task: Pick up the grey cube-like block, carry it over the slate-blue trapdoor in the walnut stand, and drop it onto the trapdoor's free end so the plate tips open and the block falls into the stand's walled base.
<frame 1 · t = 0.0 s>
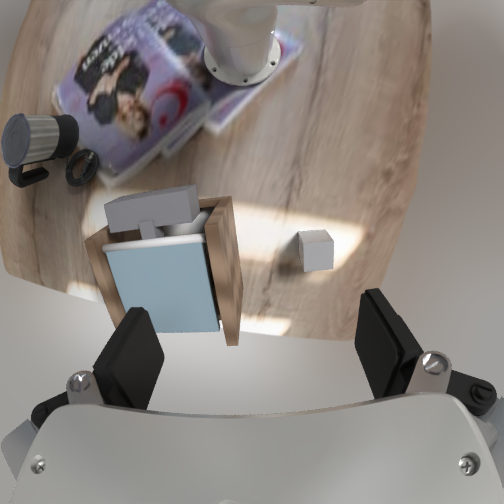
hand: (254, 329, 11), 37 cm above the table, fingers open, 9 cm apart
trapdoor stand: (187, 249, 50), on the table
trapdoor: (162, 263, 37), point 13 cm above the table, hinge at 0.0°
grey cube-like block: (312, 243, 49), on the table
milk frother: (74, 147, 42), on the table
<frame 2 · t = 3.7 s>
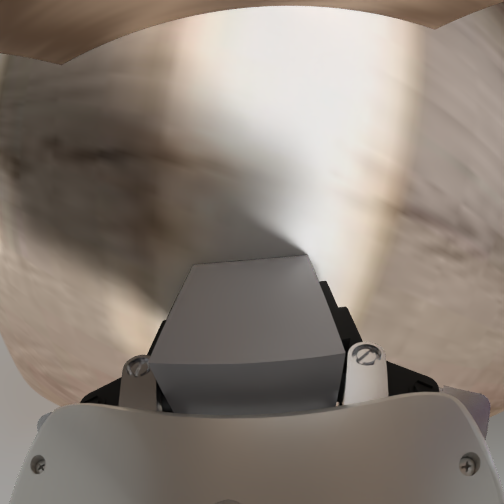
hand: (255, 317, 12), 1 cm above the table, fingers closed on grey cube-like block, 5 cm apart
grey cube-like block: (255, 308, 13), on the table, touching gripper
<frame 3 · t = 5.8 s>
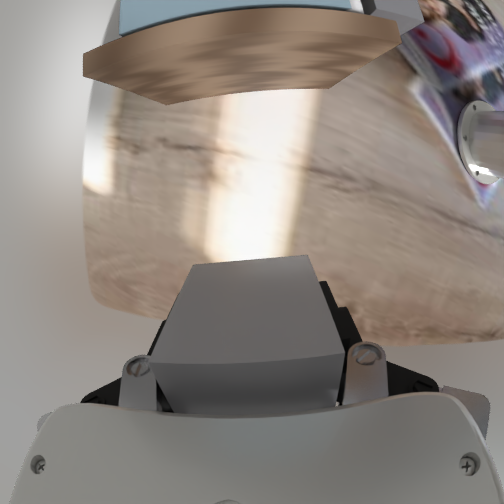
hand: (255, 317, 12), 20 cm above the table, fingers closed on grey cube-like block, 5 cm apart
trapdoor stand: (238, 21, 22), on the table
grey cube-like block: (255, 308, 13), point 19 cm above the table, touching gripper
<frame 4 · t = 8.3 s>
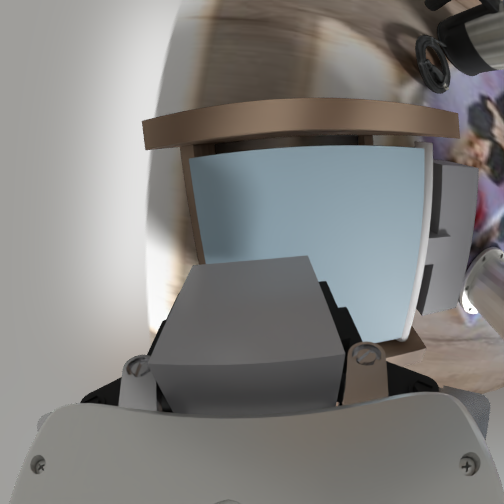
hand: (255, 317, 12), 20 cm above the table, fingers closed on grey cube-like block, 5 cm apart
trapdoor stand: (293, 206, 30), on the table
trapdoor: (355, 244, 18), point 13 cm above the table, hinge at 0.0°
grey cube-like block: (255, 308, 13), point 19 cm above the table, touching gripper
milk frother: (447, 56, 21), on the table
when the fingers open (19 cm above the table, at t = 9.2 s): grey cube-like block drops 10 cm and tips over, resting on trapdoor.
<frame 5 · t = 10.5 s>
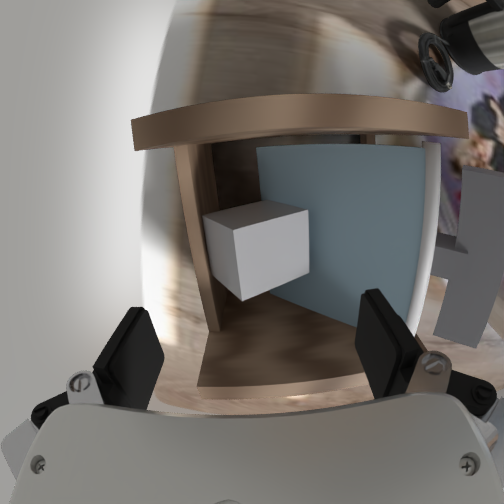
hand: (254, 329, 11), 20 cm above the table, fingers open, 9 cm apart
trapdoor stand: (293, 208, 29), on the table
trapdoor: (383, 236, 19), point 10 cm above the table, hinge at -44.5°, touching grey cube-like block
grey cube-like block: (287, 234, 22), point 8 cm above the table, tilted 57°, touching trapdoor
milk frother: (449, 54, 20), on the table
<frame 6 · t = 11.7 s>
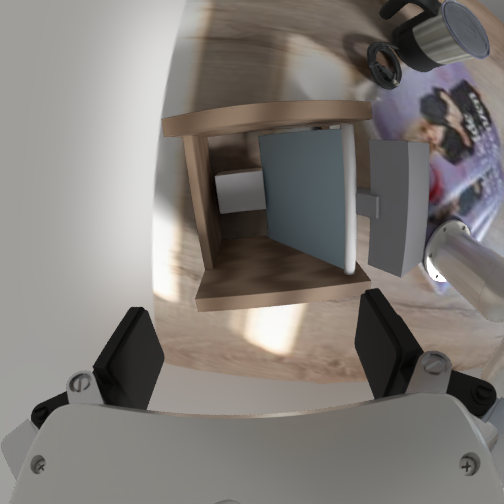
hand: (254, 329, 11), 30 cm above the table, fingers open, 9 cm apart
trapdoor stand: (269, 183, 38), on the table
trapdoor: (336, 193, 29), point 10 cm above the table, hinge at -57.7°, touching grey cube-like block
grey cube-like block: (263, 186, 36), point 2 cm above the table, tilted 90°, touching trapdoor
milk frother: (400, 57, 29), on the table
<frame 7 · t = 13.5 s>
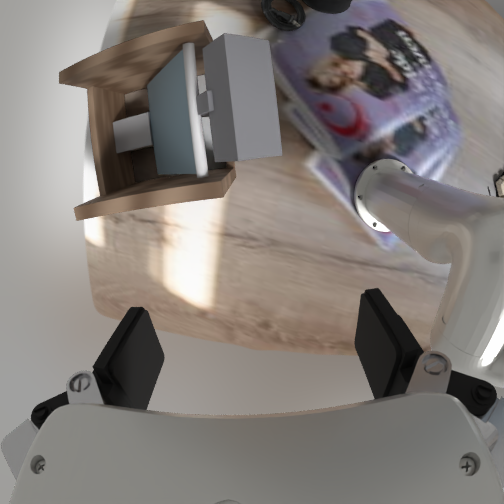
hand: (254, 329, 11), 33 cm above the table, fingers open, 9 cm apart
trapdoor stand: (172, 127, 38), on the table
trapdoor: (198, 112, 28), point 10 cm above the table, hinge at -52.0°
grey cube-like block: (155, 128, 36), point 2 cm above the table, tilted 90°, touching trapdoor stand
milk frother: (308, 4, 29), on the table
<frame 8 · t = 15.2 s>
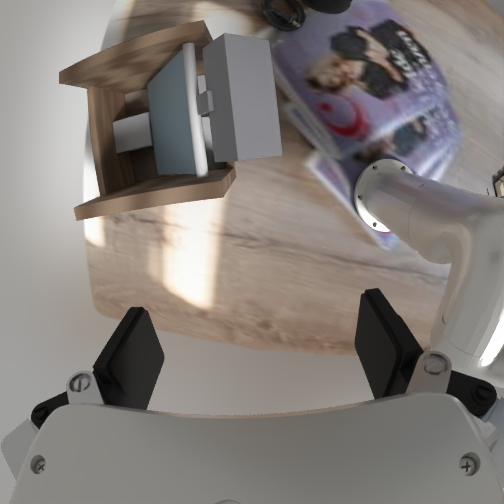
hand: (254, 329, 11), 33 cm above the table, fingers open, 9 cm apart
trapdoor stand: (172, 127, 38), on the table
trapdoor: (198, 112, 28), point 10 cm above the table, hinge at -52.1°, touching grey cube-like block
grey cube-like block: (155, 128, 36), point 2 cm above the table, tilted 90°, touching trapdoor, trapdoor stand
milk frother: (308, 4, 29), on the table
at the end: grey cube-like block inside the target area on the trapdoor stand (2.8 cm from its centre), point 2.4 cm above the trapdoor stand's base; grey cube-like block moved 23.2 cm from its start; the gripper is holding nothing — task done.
